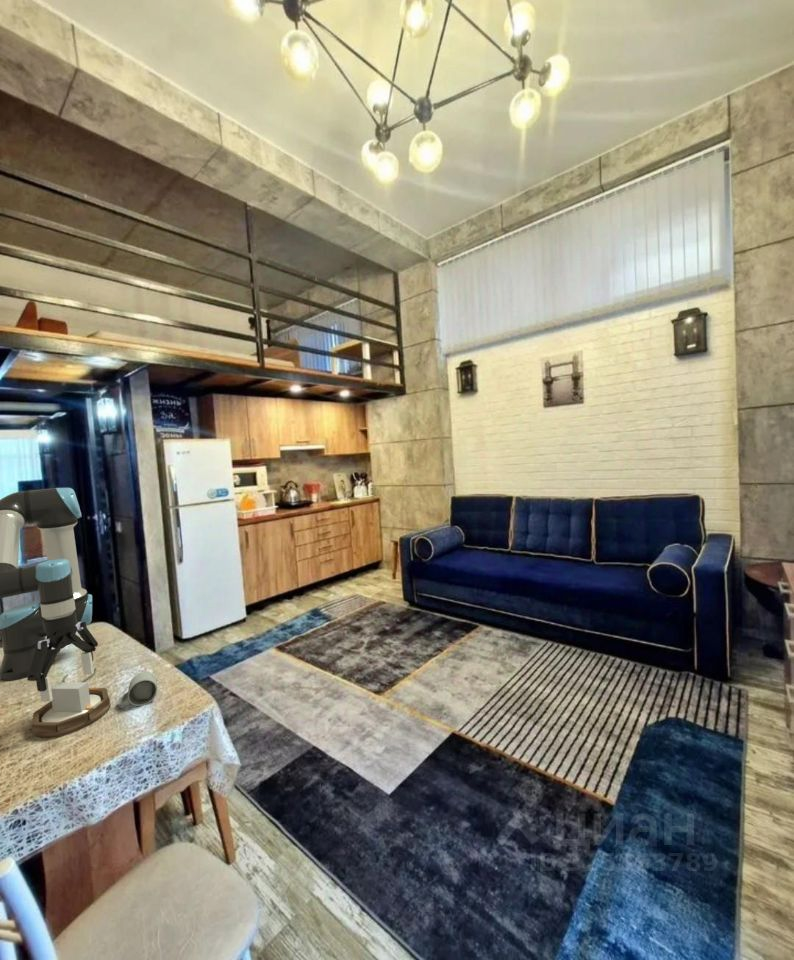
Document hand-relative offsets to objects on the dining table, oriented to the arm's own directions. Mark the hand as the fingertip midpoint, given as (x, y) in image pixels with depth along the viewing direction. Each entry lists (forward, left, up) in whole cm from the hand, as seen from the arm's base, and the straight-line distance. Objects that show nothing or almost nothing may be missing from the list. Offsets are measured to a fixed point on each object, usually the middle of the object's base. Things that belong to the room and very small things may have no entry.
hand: (69, 686), depth 122 cm
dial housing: (0, 0, -9) cm, 9 cm away
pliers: (-22, +2, -10) cm, 24 cm away
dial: (0, 0, -8) cm, 8 cm away
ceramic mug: (+5, +16, -10) cm, 19 cm away
